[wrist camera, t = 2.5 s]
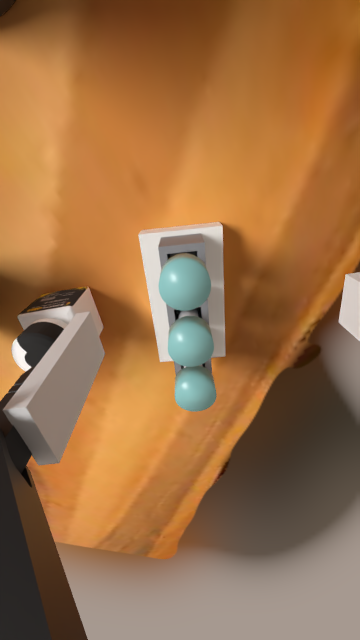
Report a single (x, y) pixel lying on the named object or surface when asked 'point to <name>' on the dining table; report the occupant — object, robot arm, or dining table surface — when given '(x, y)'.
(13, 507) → the robot arm
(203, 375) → the knob
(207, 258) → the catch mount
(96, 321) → the medicine bottle
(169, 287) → the knob
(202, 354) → the knob
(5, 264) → the dining table surface
